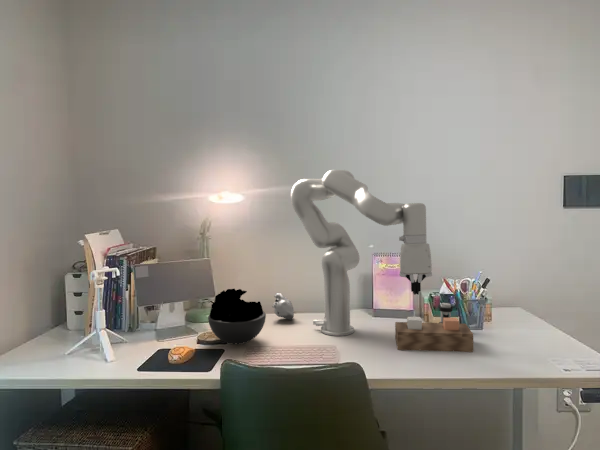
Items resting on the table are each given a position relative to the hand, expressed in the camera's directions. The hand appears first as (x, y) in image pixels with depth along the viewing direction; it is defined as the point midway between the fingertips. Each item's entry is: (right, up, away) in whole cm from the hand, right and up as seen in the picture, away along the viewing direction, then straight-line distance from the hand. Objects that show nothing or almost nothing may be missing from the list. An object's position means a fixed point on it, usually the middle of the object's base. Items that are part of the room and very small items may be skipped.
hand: (415, 293), depth 158 cm
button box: (+6, -18, +1) cm, 19 cm away
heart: (-45, -16, +33) cm, 58 cm away
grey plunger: (0, -15, +1) cm, 15 cm away
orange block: (+12, -15, 0) cm, 19 cm away
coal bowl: (-61, -18, +6) cm, 64 cm away
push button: (+16, -17, +17) cm, 29 cm away
